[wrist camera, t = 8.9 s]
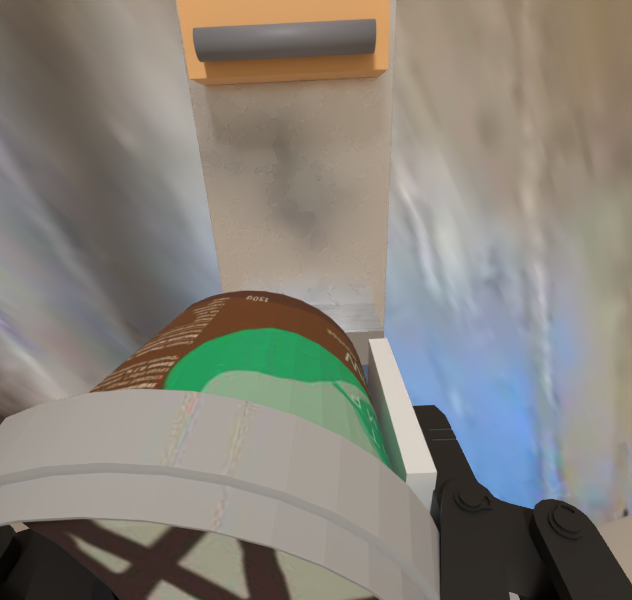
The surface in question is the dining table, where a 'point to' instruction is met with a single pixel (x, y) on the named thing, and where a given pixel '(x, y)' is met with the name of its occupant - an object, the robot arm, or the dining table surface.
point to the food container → (225, 467)
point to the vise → (302, 190)
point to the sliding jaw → (284, 39)
